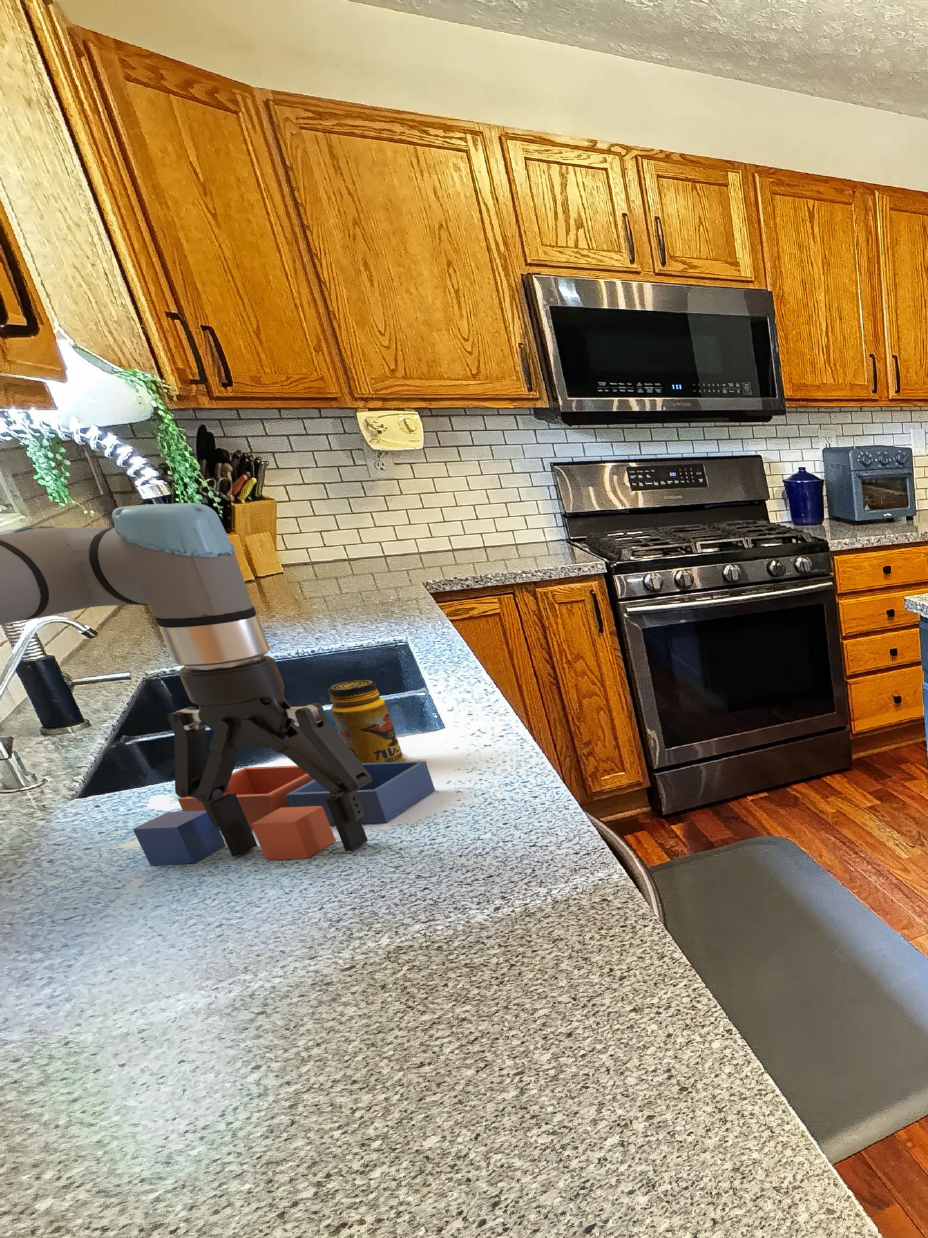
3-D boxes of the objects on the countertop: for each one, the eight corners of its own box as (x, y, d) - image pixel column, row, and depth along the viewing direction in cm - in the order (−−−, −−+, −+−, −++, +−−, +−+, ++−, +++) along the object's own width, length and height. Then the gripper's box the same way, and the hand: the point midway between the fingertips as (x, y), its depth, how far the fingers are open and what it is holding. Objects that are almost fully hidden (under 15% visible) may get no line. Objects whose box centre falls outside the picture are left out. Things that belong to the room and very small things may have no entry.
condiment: (412, 766, 122) (385, 684, 118) (337, 782, 117) (306, 697, 112) (402, 753, 127) (376, 674, 122) (330, 768, 122) (299, 686, 117)
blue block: (149, 865, 95) (132, 828, 93) (184, 847, 99) (168, 811, 97) (193, 863, 95) (176, 827, 93) (226, 845, 99) (210, 810, 98)
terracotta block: (265, 860, 96) (250, 824, 94) (295, 842, 100) (280, 807, 98) (308, 858, 96) (294, 822, 94) (336, 840, 100) (322, 805, 98)
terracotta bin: (191, 831, 103) (177, 798, 101) (256, 797, 112) (244, 767, 111) (282, 827, 104) (269, 795, 102) (339, 793, 113) (328, 764, 111)
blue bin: (298, 826, 104) (285, 794, 102) (354, 793, 113) (343, 763, 112) (387, 822, 105) (375, 791, 103) (435, 790, 114) (425, 760, 112)
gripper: (369, 648, 94) (429, 829, 102) (135, 655, 92) (216, 838, 100) (321, 666, 87) (390, 858, 95) (66, 673, 85) (160, 869, 94)
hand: (301, 848), depth 98 cm, fingers open, 11 cm apart
